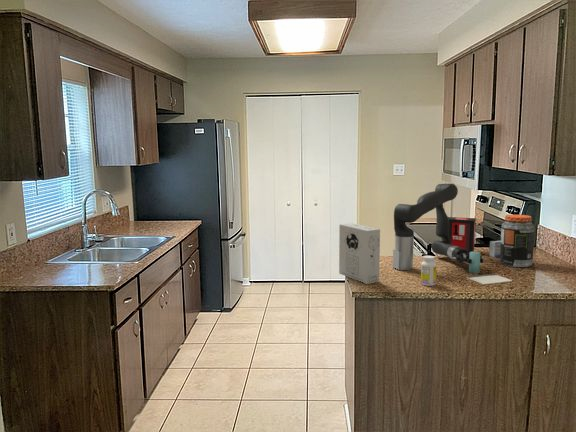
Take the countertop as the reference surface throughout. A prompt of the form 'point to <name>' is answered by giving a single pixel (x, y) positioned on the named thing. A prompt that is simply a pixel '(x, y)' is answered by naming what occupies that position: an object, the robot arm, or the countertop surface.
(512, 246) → the supplement tub
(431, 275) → the supplement bottle
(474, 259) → the teal wooden pin
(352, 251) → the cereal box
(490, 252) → the medicine box
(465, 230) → the cleaning product box
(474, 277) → the mat
